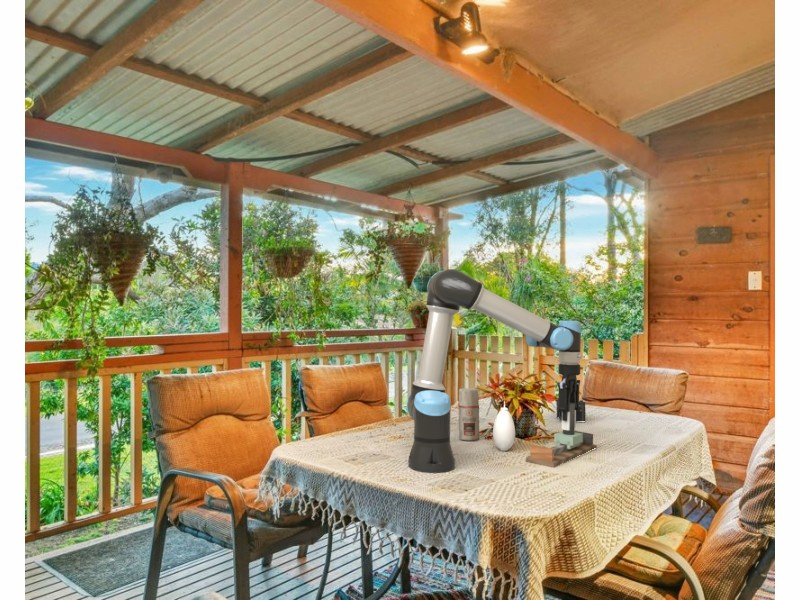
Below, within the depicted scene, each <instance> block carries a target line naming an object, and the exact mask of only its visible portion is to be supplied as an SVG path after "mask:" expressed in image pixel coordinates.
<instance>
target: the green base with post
mask: <svg viewBox="0 0 800 600" xmlns="http://www.w3.org/2000/svg"><path fill="white" fill-rule="evenodd" d="M569 412H570V430H563V429H562V431H558V432H556V433H554V434H553V435H554V436H553V437H554V439H553V440H554V441H553V442H554V443H555V444H556V446H558V445H560V444H566V445H567V449H571V448H574V447H576V446H579V445H580V443H581V442H583V434H582V433H577V432H574V431H576V430H575V429H576V428H575V403H572V402H570V403H569Z"/></svg>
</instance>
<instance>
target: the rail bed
mask: <svg viewBox="0 0 800 600" xmlns="http://www.w3.org/2000/svg"><path fill="white" fill-rule="evenodd" d="M574 432H577V433H582V434H583V442H581V443H580V445H579V446H576V447H574V448H571V449H567V445H566V444H560V445H558V446H557V445H555V446H552V447H546V446H541V445H535V444H530V447H529V455H528V456H526V457H525V462H526V463H531V464H535V465H540V466H544V467H549V468H556V467H558V465H559V466H561V465H563V464H566V463H567V461H568V462H570V461H572V460H574V459H573V458H575V457H577V456H579V455H582V454H584V453H586V452H588V451H590V450H592V449H594V448H597V449H598V447H597V444H595V443H594V433H591V432H584V431H577V430H575V431H574ZM588 453H589V452H588ZM586 454H587V453H586ZM584 455H585V454H584ZM582 456H583V455H582ZM579 457H580V456H579ZM577 458H578V457H577ZM571 459H572V460H571ZM575 459H576V458H575ZM569 460H570V461H569ZM562 463H563V464H562ZM560 464H561V465H560Z"/></svg>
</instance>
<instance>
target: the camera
mask: <svg viewBox="0 0 800 600" xmlns="http://www.w3.org/2000/svg"><path fill="white" fill-rule="evenodd" d="M555 403H556V418H557V417H559V418H558V419H559V420H560V421H561V422H562V411H559V398H557V399H556V401H555ZM577 408H579V409H578V410H576V421H585V422H586V419H587V418H586V413H587V411H586V401H584V400H583V399H579V407H577Z"/></svg>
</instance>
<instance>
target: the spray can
mask: <svg viewBox="0 0 800 600" xmlns="http://www.w3.org/2000/svg"><path fill="white" fill-rule="evenodd" d="M458 436H459V437H458V439H459V440H461V441H478V440H479V439H480V404H479V389H477V388H467V387H465V388H459V391H458Z"/></svg>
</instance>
